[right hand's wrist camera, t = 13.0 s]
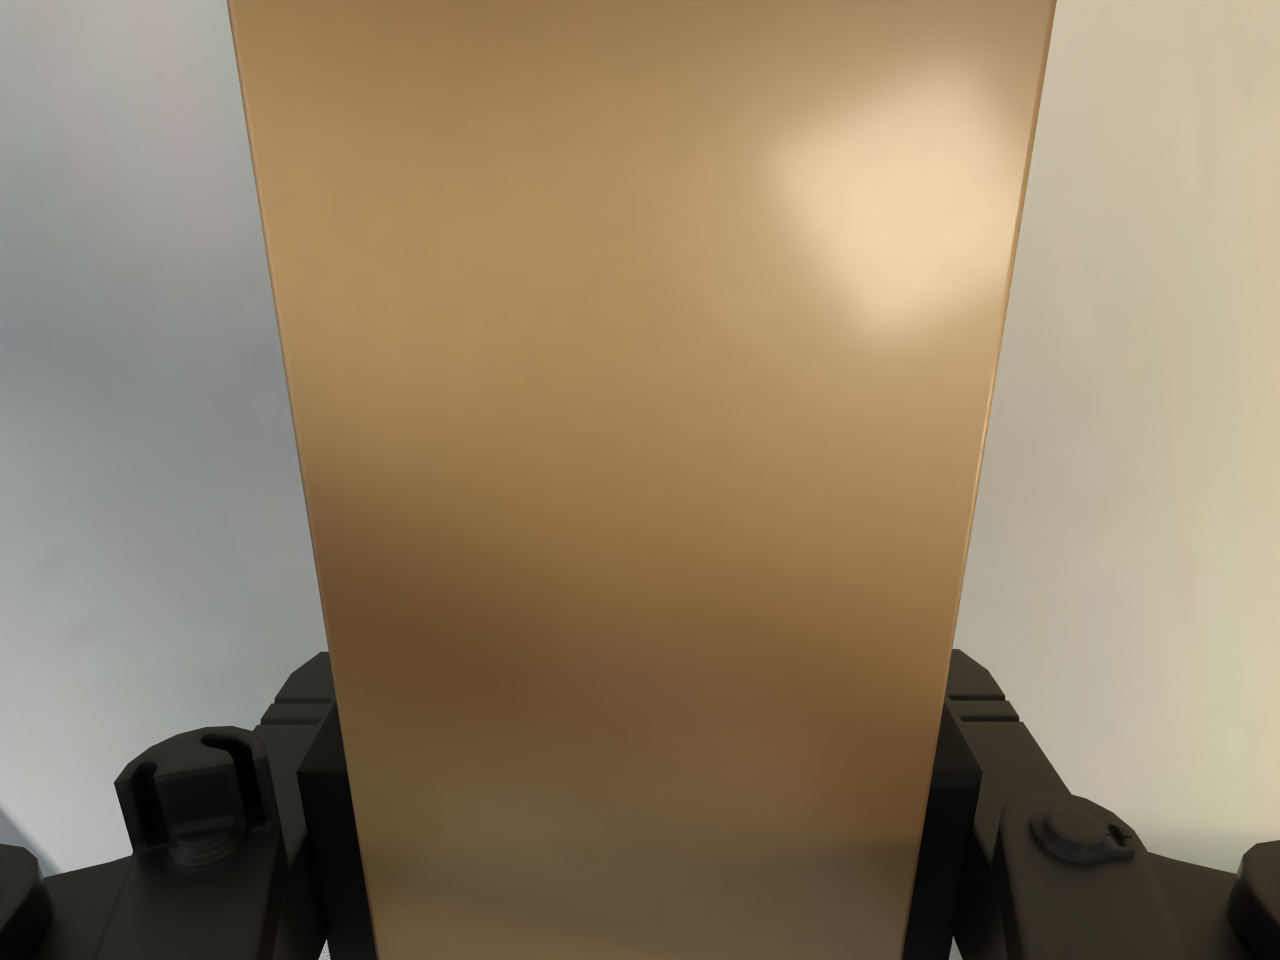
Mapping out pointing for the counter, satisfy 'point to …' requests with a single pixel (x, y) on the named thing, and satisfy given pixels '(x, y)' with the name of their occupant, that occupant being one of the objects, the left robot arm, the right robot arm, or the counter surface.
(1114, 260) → the counter surface
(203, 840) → the right robot arm
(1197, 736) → the counter surface
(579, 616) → the bar
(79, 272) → the counter surface
